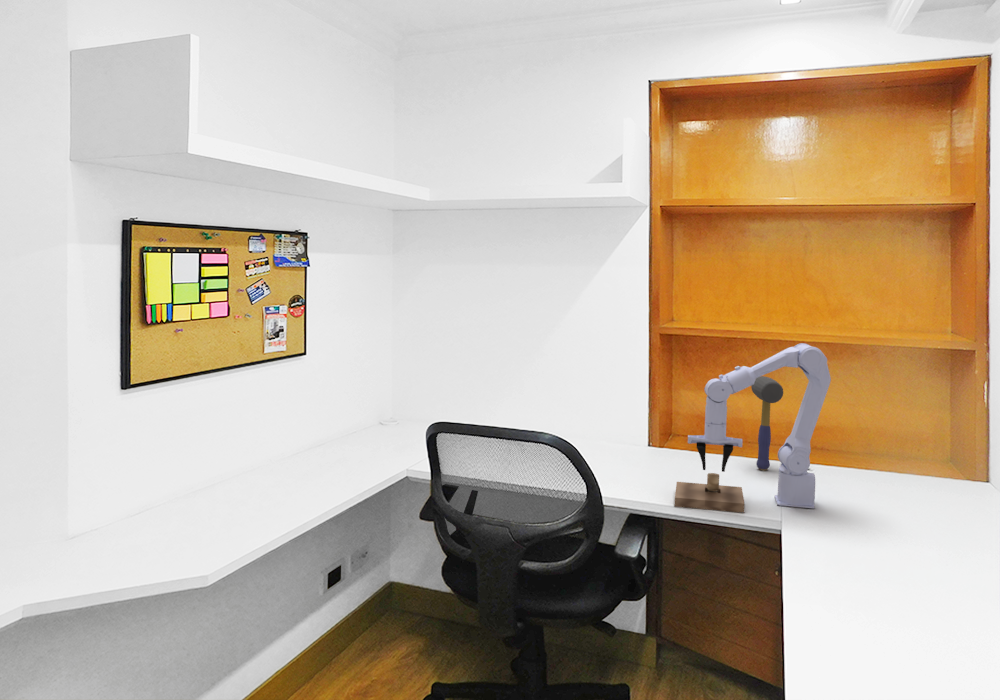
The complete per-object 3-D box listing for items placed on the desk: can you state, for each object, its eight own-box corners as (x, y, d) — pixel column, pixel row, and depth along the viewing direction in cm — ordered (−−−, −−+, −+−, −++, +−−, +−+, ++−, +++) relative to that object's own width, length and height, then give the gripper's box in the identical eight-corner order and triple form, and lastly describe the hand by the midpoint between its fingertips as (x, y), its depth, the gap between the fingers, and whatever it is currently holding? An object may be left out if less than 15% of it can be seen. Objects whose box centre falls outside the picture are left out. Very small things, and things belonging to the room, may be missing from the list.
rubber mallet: (780, 475, 225) (786, 381, 221) (756, 475, 226) (761, 380, 222) (768, 464, 237) (773, 374, 234) (745, 464, 238) (750, 374, 234)
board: (741, 495, 205) (741, 487, 205) (744, 512, 191) (744, 503, 191) (676, 489, 210) (676, 481, 210) (674, 506, 196) (674, 497, 196)
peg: (718, 497, 203) (719, 473, 202) (718, 501, 200) (719, 476, 199) (706, 496, 204) (707, 472, 204) (706, 500, 201) (707, 475, 201)
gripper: (742, 420, 201) (740, 468, 203) (688, 417, 205) (687, 463, 207) (743, 426, 195) (741, 475, 196) (688, 422, 199) (686, 470, 200)
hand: (713, 469), depth 201 cm, fingers open, 4 cm apart
